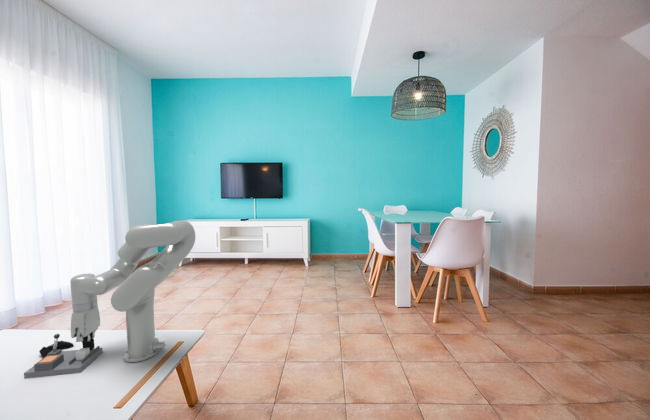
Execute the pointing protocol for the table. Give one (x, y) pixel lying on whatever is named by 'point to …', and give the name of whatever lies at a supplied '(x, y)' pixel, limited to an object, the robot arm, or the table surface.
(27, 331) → the table surface
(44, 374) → the control panel
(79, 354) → the slide switch
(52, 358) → the push button
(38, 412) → the table surface
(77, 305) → the robot arm
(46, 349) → the game controller
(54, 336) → the toggle lever
